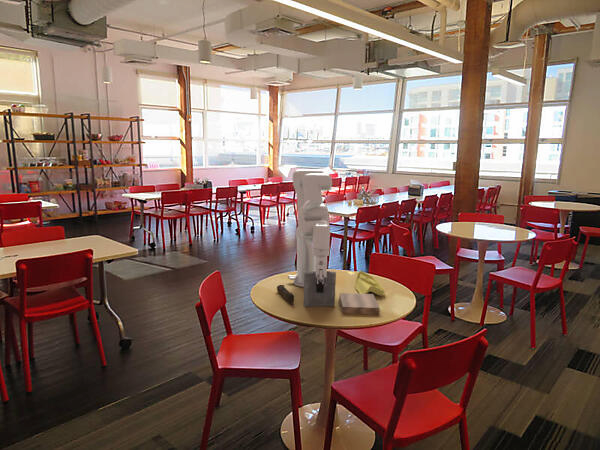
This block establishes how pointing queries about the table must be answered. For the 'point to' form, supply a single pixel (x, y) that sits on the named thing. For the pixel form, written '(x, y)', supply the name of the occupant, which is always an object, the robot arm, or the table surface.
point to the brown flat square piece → (358, 303)
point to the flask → (319, 298)
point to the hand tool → (286, 294)
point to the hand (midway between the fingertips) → (319, 289)
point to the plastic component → (368, 284)
